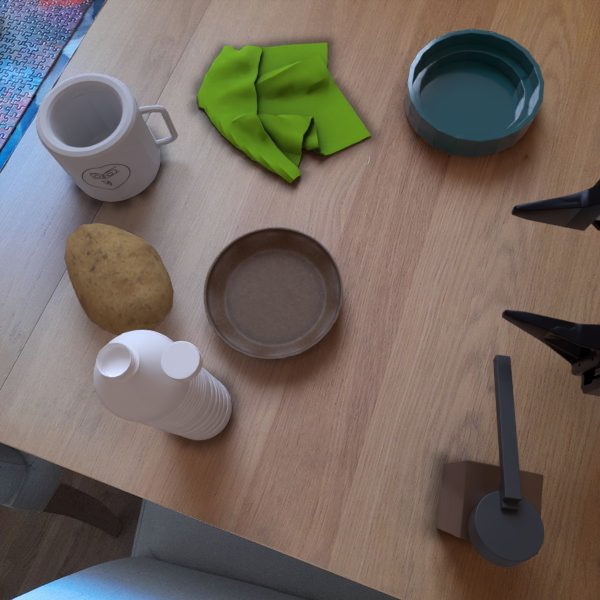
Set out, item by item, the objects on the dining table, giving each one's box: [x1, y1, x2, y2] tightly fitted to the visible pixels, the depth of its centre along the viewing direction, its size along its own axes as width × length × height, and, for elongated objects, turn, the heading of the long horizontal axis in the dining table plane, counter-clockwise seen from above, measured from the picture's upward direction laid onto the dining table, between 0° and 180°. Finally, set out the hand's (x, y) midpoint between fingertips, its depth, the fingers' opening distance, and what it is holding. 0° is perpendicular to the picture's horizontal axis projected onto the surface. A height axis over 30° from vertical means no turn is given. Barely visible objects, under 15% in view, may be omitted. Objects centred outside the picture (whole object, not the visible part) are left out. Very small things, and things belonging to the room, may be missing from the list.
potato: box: [64, 222, 175, 337], centre depth 60 cm, size 10×14×8 cm
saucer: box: [203, 226, 344, 360], centre depth 61 cm, size 15×15×3 cm
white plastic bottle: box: [92, 329, 233, 441], centre depth 47 cm, size 9×6×25 cm
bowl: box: [403, 28, 545, 159], centre depth 66 cm, size 15×15×4 cm
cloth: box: [196, 42, 372, 185], centre depth 68 cm, size 20×22×2 cm
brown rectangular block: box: [436, 459, 544, 555], centre depth 50 cm, size 6×6×10 cm
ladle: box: [468, 354, 545, 568], centre depth 45 cm, size 16×5×4 cm, turn 173°
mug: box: [35, 72, 179, 203], centre depth 64 cm, size 14×11×10 cm
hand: (508, 260), depth 46 cm, fingers open, 9 cm apart
